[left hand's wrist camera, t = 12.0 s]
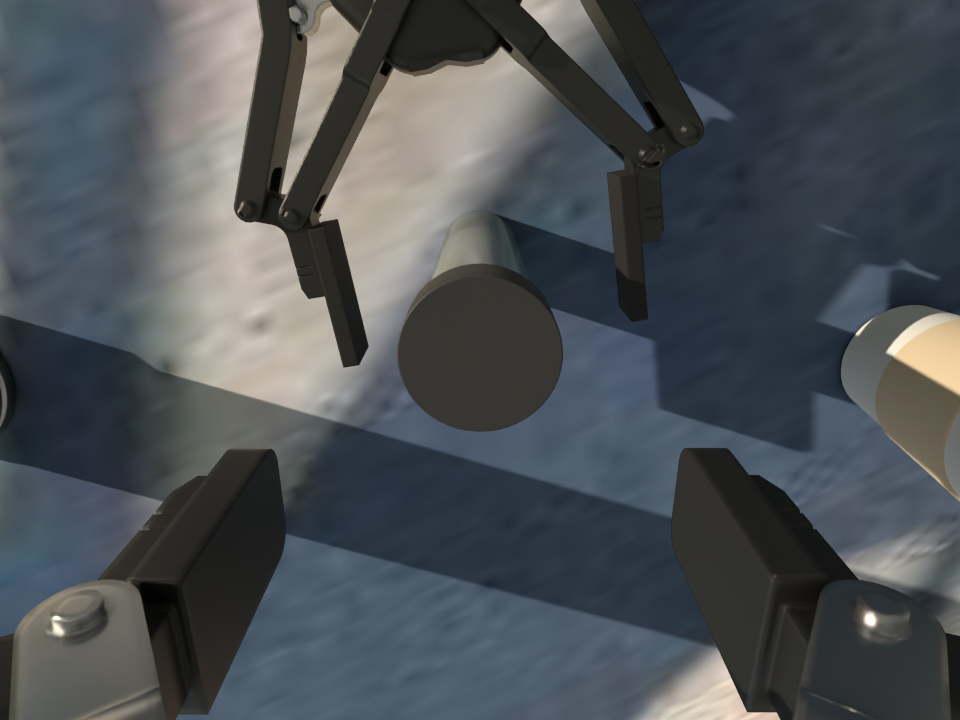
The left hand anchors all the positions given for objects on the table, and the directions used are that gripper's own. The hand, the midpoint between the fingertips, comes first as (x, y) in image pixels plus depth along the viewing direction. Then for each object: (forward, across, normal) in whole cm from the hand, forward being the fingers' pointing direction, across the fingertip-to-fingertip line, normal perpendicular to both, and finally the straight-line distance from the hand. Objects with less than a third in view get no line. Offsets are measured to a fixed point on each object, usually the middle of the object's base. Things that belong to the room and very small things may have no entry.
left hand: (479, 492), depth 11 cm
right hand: (+19, +1, -3) cm, 19 cm away
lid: (+8, 0, 0) cm, 8 cm away
